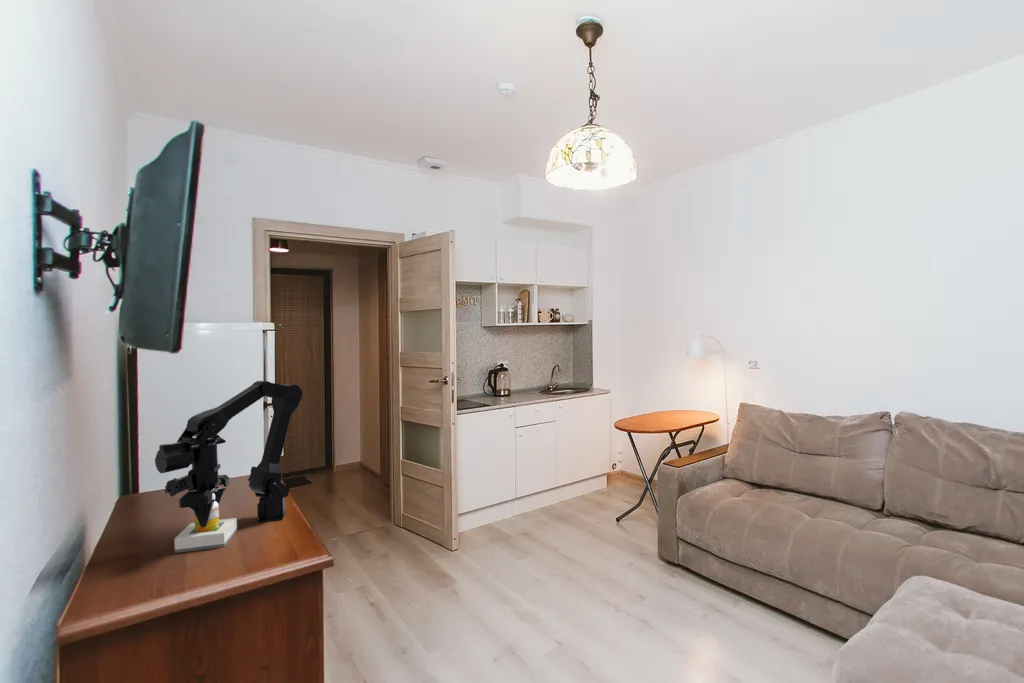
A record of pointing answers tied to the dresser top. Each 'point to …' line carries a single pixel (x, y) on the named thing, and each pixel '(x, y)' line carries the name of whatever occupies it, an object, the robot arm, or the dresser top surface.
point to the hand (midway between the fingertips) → (207, 522)
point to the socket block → (205, 537)
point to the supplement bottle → (209, 520)
